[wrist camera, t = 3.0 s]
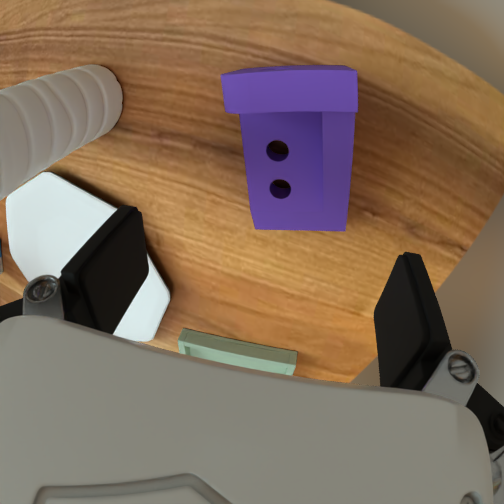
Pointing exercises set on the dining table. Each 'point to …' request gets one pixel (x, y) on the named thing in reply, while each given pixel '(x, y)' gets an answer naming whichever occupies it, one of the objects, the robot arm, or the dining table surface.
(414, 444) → the robot arm
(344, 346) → the dining table surface
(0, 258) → the ink box
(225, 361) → the shallow tray
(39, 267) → the plate
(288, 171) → the bracket
